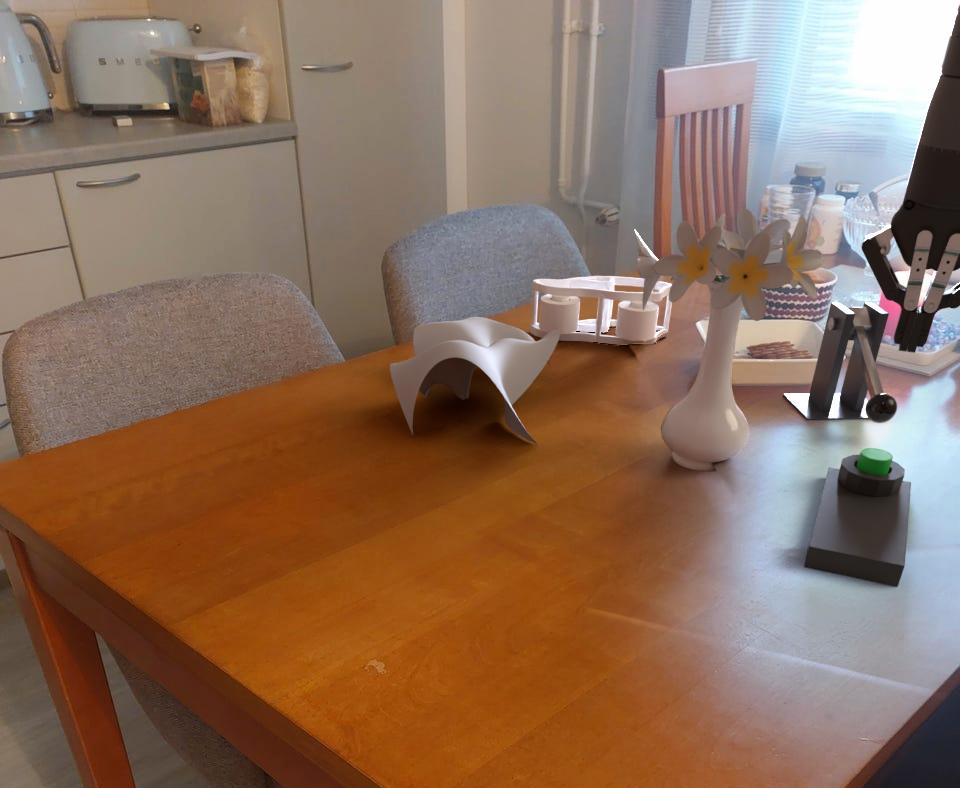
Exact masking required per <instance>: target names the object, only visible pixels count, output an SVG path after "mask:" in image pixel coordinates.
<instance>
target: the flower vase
mask: <svg viewBox="0 0 960 788" xmlns="http://www.w3.org/2000/svg"><path fill="white" fill-rule="evenodd" d="M725 218H726V214H725V213H723V214H721V215H720V217H718V219H717V220H716V222H715V224H714V225H713V226H712V228H710V229H709V230H707V231H706V232H705V233H704V235H703V236H702V238H698V236H697V233H696V231H695V228H694V227H693V225H692V224H691V223H690V222H689V221H687V220H683V221H681V222H680V223H679V224H678V227H677V230H676V243H677V247H678V249H679V252H680V253H681V254H682V255H681V254H678V253H677V254H675V253H673V254H667V255H664V256H662V257H660V258H659V259H658V258H657V256H656V255H655V254H654V253H653V252H652V251H651V250H650V248H649V247H648V246H647V244H646V243H645V242H644V240H643V239H642V238H641V236H640V235H639V233H638V232H637V230H636V228H634V230H633V231H634V235H635V240H636V243H637V246H638V256H637V257H636V268H637V273H638V276H639V278H643V279H645V281H644V287H643V290H642V292H643V301H642V302H643V304H642V305H643V311H644V309H645V306H646V304H647V301H648V299H649V297H650V294H651V292H652V290H653V291H654V289H653V288H654V287H655V285H656V283H657V282H658V281H660V278H661V276H662V277H671V278H670V282H672V281H673V282H672V283H671V284H672V286H671V288H670V291H669V301H670V302H672V304H673V303H677V302H678V301H679V300H681V298H682V297H683V296H684V295H685V294H686V292H688V290H689V288H690V287H691V286H692V285H693V284H694V283H695V282H697V283H699V284H700V285H707V287H708V290H709V312H708V313H709V314H708V324H707V330H706V334H705V335H706V336H705V341H704V345H703V350H702V355H701V360H700V365H699V367H698V370H697V371H698V372H697V374H696V378H695V380H694V382H693V384H692V386H691V388H690V389H689V390H688V392H687V394H686V395H685V396H684V397H683V398H682V399H680V400H679V401H678V402H677V403H675V404H674V405H673V406H672V407H671V408H670V409H669V410H668V411H667V413H666V415H665V416H664V418H663V420H662V423H661V425H660V432H661V437H662V440H663V441H664V444H665V445H666V446H667V448H668V449H669V450H670V451H671V457H672V460H673V461H674V463H676V465H679V466H681V467H683V468H685V469H688V470H691V471H699V472H714V471H717V468H716V467H715V465H714V463H719V462H723V461H726V460H729V459H732V458H733V457H735V456H737V455H738V454H739V453H740V452H741V451H743V450H744V448H746V446H747V444H748V442H749V438H750V426H749V423H748V420H747V417H746V415H745V414H744V412H743V410H742V409H741V408H740V407H739V406H738V404H737V402H736V399H735V396H734V391H733V384H732V373H733V365H734V364H733V363H734V356H735V349H736V342H737V336H738V330H739V325H740V321H741V317H742V314H743V311H745V313H746V314H747V316H748V317H749V318H750V319H751V320H753V321H754V322H759V321H761V320H763V319H764V317H765V315H766V312H767V298H766V295H765V293H764V290H763V289H776V288H781V287H784V286H786V285H787V284H789V285H790V286H791V287H792V288H796V287H798V286H799V287H800V288H801V289H802V290H803V291H804V292H805V293H806V294H807V295H808V296H809V298H811V299H812V300H817V298H818V291H817V286H816V284H815V282H814V280H813V279H812V277H811V275H810V274H808V273H807V272H811V271H812V272H813V271H816V270H818V269H820V268H821V267H822V266H823V265H824V261H825V259H824V255H823V253H822V252H821V251H820V250H819V249H817V248H813V247H812V248H811V247H809V248H804V249H802V248H803V247H804V246H805V244H806V243H807V242H806V241H807V237H808V222H807V219H806V217H805V216H803V215H802V216H801V217H800V218H799V219H798V221H797V224H796V226H795V228H794V231H793V233H792V235H791V233H790V229H791V222H790V221H789V219H787V218H780V219H777V220H774V221H771V223H769V224H768V225H766V226H765V227H764V228H763V229H762V230H761V231H760V228H759V223H758V220H757V218H756V216H755V214H754V213H753V212H752V211H751V210H749V208H745V207H743V208H741V209H740V210H738V213H737V215H736V228H737V232H738V234H737V233H736V232H733V231H730V230H726V229H724V225H725V220H726V219H725ZM759 231H760V232H759ZM781 240H782V245H781V244H778V243H779V242H781ZM717 271H718V272H719V273H720V274H718V273H717ZM805 272H806V273H805Z"/></svg>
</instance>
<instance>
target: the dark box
mask: <svg viewBox="0 0 960 788" xmlns="http://www.w3.org/2000/svg"><path fill="white" fill-rule="evenodd" d="M859 456H860V454H850V455H848V456H845V457H844V458H842V460H841V463H840V467H839V468H833V467H828V469H827V473H826V477H825V481H824V485H823V489H822V493H821V497H820V501H819V505H818V507H817V513H816V517H815V521H814V524H813V529H812V533H811V536H810V540H809V545H808V548H807V552H806V556H805V560H804V564H803V568H806V569H810V570H816V571H820V572H823V573H824V572H825V573H829V574H834V575H839V576H844V577H847V578H848V577H849V578H852V579H857V580H862V581H867V582H871V583H876V584H881V585H884V586H885V585H886V586H890V587H895V588H898V587H899V584H900V581H901V579H902V575H903V572H904V569H905V567H906V556H907V555H906V554H907V541H908V527H909V515H910V501H911V487H912V482H911V481H906V480H904V479H905V471H906V470H905V468H904V467H902V465H900V464H899V462H896V461H894V460H892V462H891V465H890V468H889V471H888V474H886V475H874V474H869V473H865V472H863V471H860V470H858V469H857V468H856V467H857V463H858V459H859Z"/></svg>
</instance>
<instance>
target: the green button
mask: <svg viewBox="0 0 960 788" xmlns="http://www.w3.org/2000/svg"><path fill="white" fill-rule="evenodd" d="M859 455H860V456H859V459H858V463H857V467H856V468H857V469H858V470H860V471H863V472H865V473H869V474H874V475H886V474H888V471H889V468H890V465H891V462H892V461H893V457H894V456H893V454H892V453H891V452H889V451H887V450H884V449H881V448H876V447H867V448H863V449H861V451H860V453H859Z"/></svg>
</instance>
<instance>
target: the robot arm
mask: <svg viewBox="0 0 960 788" xmlns="http://www.w3.org/2000/svg"><path fill="white" fill-rule="evenodd" d="M939 73H940V74H939V75H938V78H937V81H936V84H935V86H934V90H933V92H932V94H931V96H930V99H929V102H928V104H927V108H926V111H925V114H924V115H925V116H924V119H923V122H922V124H921V126H920V130H919V131H920V134H919V138H918V142H917V145H916V149H915V152H914V157H913V161H912V164H911V168H910V172H909V175H908V180H907V184H906V187H905V191H904V194H903V199H902V203H901V205H900V206H899V209H897V211H896V212H895V213H894V214H893V216H892V218H891V221H890V224H889V225H887V226H886V227H884V228H882V229H881V230H879V231H877V232H875V233H868V234H866V235H865V236H864V238H863V242H862V244H861V251H862V253H863V255H864V257H865V259H866V261H867V263H868V265H869V267H870V269H871V272H872V274H873V276H874V277H875V280H876V281H877V284H878V286H879V288H880V290H881V292H882V294H883V296H884V298H885V299H886V300H887V301H890V302H894V303H895V304H897V305H898V306H899V307H900V312H899V316H898V321H897V323H896V327H895V330H894V335H893V342H894V344H896V345H898V352H905V353H913V354H916V350H917V348H923V347H924V346H925V345H926V344H927V341H928V338H929V335H930V332H931V328H932V325H933V322H934V319H935V315H936V314H937V313H938V312H939V311H941V310H943V309H944V310H945V309H957V308H959V307H960V281H959V282H958V283H956V284H955V285H954V286H953V287H952V288H950V289H947V286H948V285H949V282H950V279H951V277H952V274H953V272H956V271H957V270H960V4H959V5H958V7H957V10H956V13H955V16H954V19H953V23H952V26H951V29H950V35H949V38H948V42H947V46H946V49H945V53H944V57H943V61H942V64H941V68H940V72H939ZM893 238H894V241H895V243H896V246H897V248H898V250H899V253H900V256H901V257H902V261H903V262H904V263H905V265H907V267H909V268H910V269H909V274H908V279H907V283H906V286H905V285H904V284H903V285H902V284H901V283H900V281H899V279H898V277H897V275H896V273H895V271H894V269H893V267H892V264H891V262H890V260H889V259H888V255H889V254H890V252H891V249H892V244H891V241H892V239H893ZM926 270H927V271H928V270H932V271H933V273H932V276H931V280H930V282H929V285H928V287H927V290H926V293H925V295H924V298H923V300H922V303H921V305H919V303H920V297H921V293H922V288H923V285H924V284H923V283H924V280H925V274H926ZM946 289H947V290H946Z"/></svg>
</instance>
